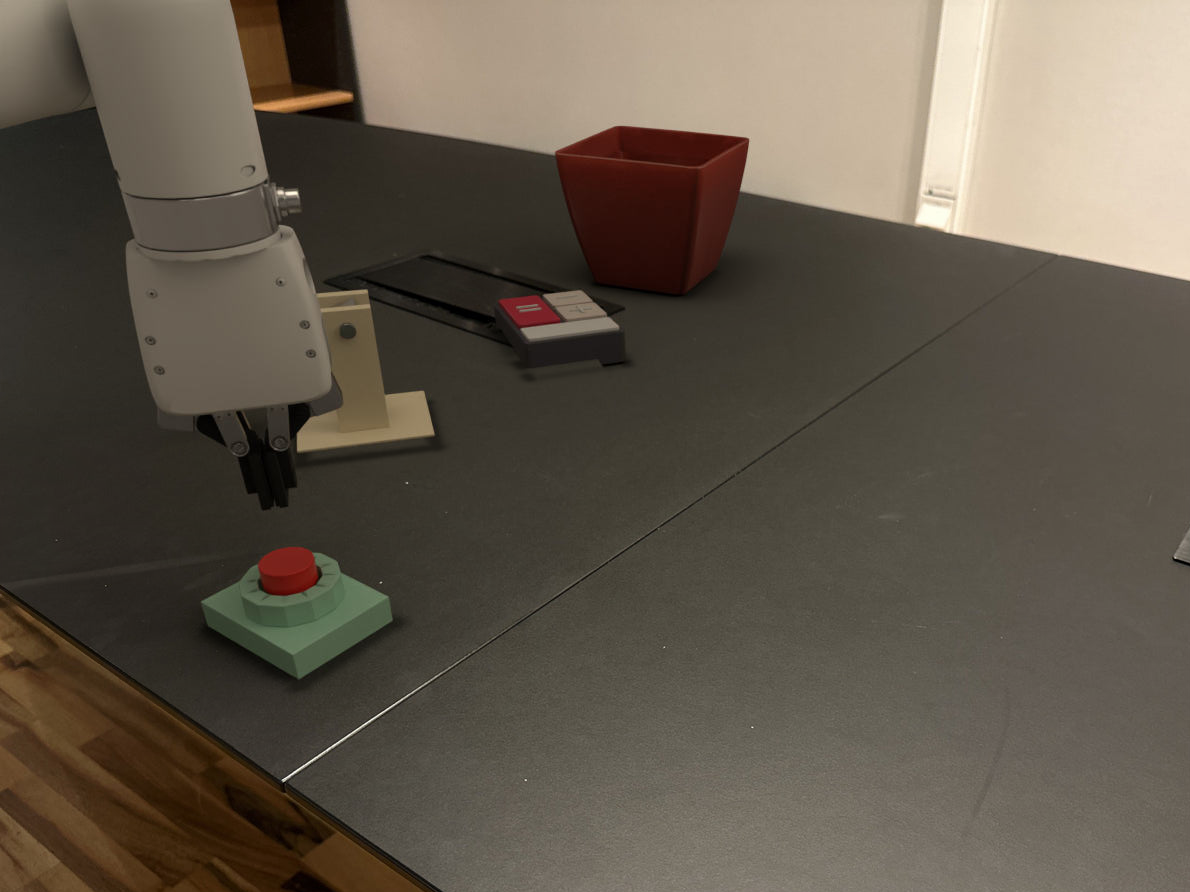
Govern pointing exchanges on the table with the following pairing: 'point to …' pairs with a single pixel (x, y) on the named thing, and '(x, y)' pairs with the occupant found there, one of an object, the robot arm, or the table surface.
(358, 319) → the bracket
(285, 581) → the button
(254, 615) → the control block
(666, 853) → the table surface
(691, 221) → the flower pot
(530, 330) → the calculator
